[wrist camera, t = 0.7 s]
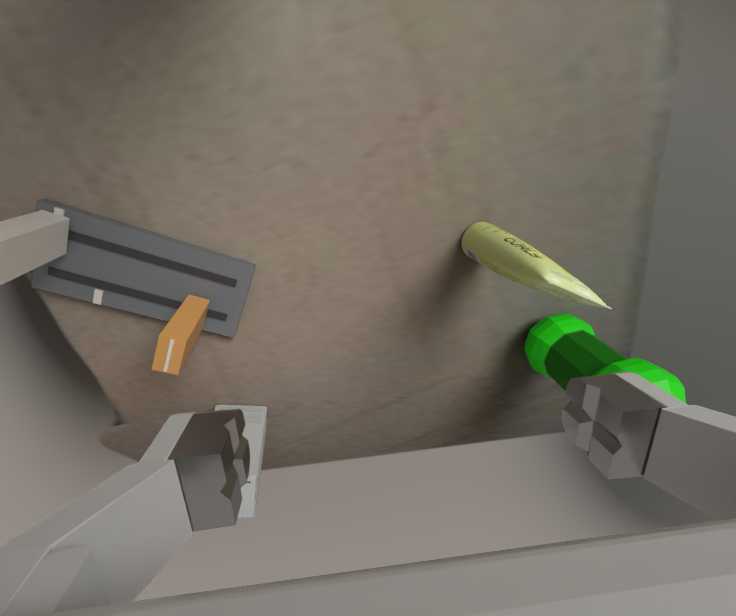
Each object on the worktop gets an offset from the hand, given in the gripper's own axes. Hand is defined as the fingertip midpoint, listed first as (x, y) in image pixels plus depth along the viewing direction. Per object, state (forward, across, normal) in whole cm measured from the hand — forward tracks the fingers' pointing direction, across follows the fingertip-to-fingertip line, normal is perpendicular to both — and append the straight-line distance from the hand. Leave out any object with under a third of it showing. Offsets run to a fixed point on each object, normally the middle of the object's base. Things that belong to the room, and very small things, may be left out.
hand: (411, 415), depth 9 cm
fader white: (+34, +30, -2) cm, 46 cm away
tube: (+39, -18, +2) cm, 43 cm away
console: (+37, +23, +4) cm, 44 cm away
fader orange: (+36, +18, +9) cm, 41 cm away
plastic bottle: (+41, -30, +18) cm, 54 cm away
